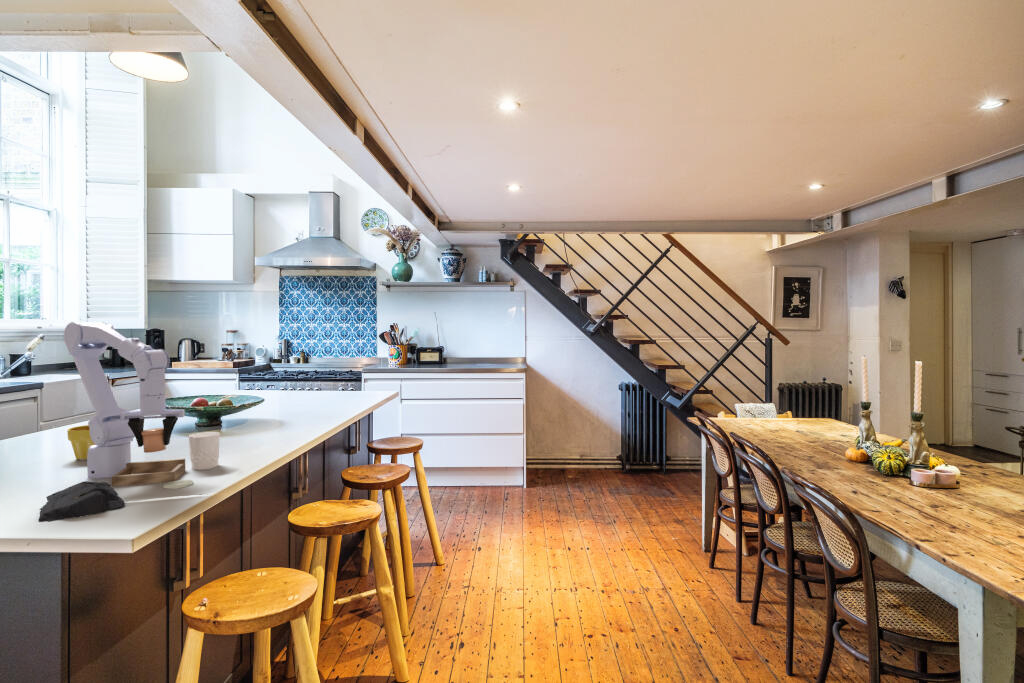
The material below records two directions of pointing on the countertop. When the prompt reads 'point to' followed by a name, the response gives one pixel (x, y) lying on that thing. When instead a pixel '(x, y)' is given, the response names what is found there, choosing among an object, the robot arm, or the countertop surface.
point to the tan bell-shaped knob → (153, 440)
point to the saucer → (178, 484)
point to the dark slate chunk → (80, 501)
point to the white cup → (204, 450)
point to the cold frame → (149, 472)
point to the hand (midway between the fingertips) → (154, 445)
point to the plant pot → (80, 440)
